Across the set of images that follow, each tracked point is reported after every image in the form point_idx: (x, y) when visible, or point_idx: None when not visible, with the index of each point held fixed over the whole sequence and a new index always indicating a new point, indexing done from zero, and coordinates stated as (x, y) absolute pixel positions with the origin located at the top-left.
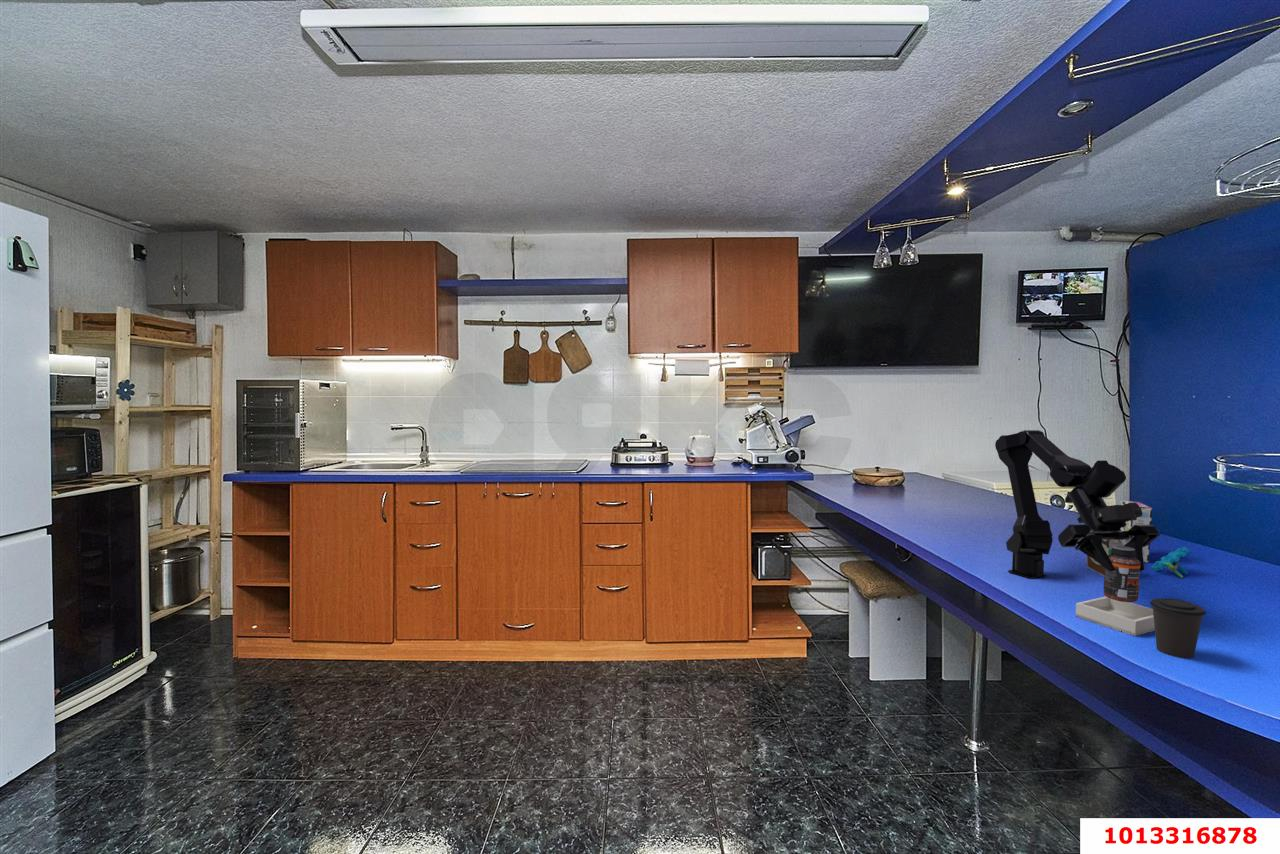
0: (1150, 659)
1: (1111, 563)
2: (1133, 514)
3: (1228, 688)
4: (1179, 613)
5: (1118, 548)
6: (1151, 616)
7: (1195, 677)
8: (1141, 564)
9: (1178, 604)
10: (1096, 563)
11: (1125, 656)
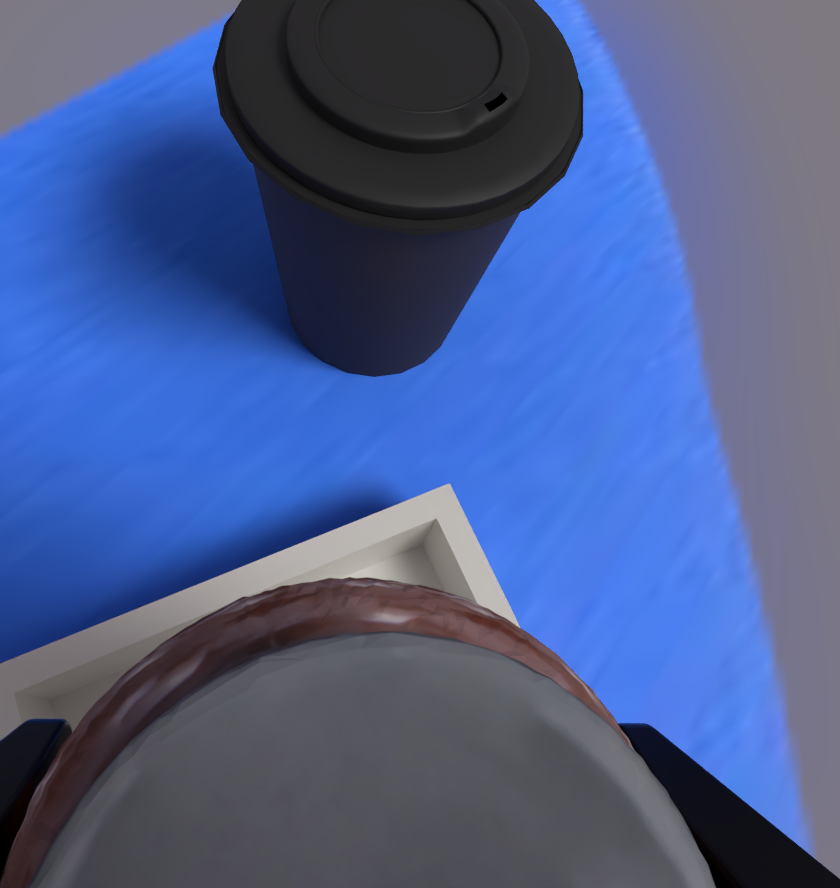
0: (577, 239)
1: (672, 785)
2: None
3: None
4: None
5: (675, 855)
6: (216, 592)
7: None
8: (18, 770)
9: (439, 14)
10: None
11: (681, 275)
